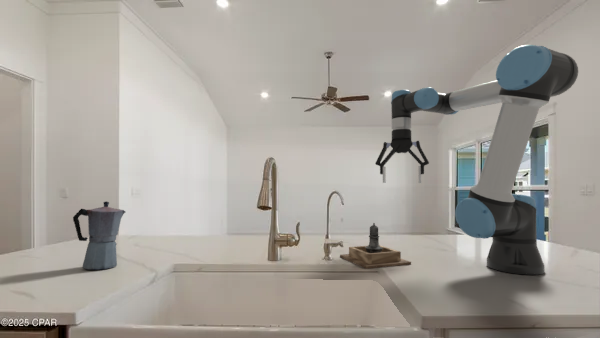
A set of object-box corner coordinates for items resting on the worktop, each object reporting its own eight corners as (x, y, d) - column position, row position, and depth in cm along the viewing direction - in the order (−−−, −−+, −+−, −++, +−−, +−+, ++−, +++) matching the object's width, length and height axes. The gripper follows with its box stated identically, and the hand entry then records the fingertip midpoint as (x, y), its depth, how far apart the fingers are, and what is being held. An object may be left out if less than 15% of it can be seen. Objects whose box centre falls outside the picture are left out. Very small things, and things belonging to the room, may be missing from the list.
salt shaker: (383, 260, 108) (383, 224, 108) (365, 259, 109) (365, 223, 109) (382, 256, 113) (382, 222, 114) (365, 255, 115) (365, 221, 115)
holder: (411, 264, 106) (410, 252, 106) (366, 268, 100) (366, 256, 100) (380, 253, 122) (380, 243, 122) (340, 257, 116) (340, 246, 116)
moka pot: (132, 263, 104) (134, 201, 105) (83, 276, 90) (85, 203, 91) (112, 260, 108) (114, 200, 109) (62, 271, 94) (65, 202, 95)
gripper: (435, 129, 128) (435, 183, 128) (372, 132, 139) (372, 182, 138) (434, 126, 122) (435, 182, 121) (368, 130, 132) (368, 182, 131)
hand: (401, 182), depth 129 cm, fingers open, 13 cm apart
